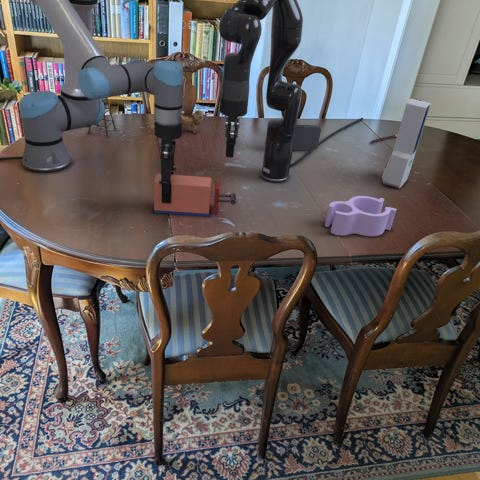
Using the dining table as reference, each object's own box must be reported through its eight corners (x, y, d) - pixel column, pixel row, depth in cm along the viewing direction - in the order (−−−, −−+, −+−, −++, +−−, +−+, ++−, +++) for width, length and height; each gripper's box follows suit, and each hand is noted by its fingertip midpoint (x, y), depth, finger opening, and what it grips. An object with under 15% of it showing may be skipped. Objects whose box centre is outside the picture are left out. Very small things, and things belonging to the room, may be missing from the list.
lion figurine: (200, 128, 202) (201, 108, 197) (204, 133, 198) (205, 112, 193) (167, 129, 197) (167, 108, 192) (170, 134, 193) (170, 113, 188)
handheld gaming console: (315, 147, 196) (319, 124, 190) (317, 149, 194) (322, 126, 188) (264, 149, 189) (267, 125, 183) (266, 152, 187) (269, 127, 181)
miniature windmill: (107, 136, 184) (102, 57, 168) (87, 133, 185) (80, 54, 169) (116, 129, 192) (112, 52, 176) (97, 126, 193) (91, 49, 177)
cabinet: (209, 206, 145) (211, 177, 140) (208, 216, 140) (210, 186, 135) (156, 202, 144) (156, 173, 139) (153, 212, 139) (153, 182, 133)
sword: (407, 132, 223) (408, 129, 223) (413, 134, 221) (413, 131, 221) (364, 143, 208) (365, 141, 207) (370, 146, 206) (370, 143, 205)
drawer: (234, 206, 145) (236, 182, 140) (234, 214, 141) (237, 190, 136) (168, 201, 143) (168, 177, 139) (166, 209, 139) (167, 185, 135)
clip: (337, 240, 135) (342, 219, 131) (318, 218, 145) (322, 198, 141) (395, 233, 141) (402, 213, 137) (373, 213, 151) (378, 194, 147)
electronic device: (399, 190, 168) (424, 107, 152) (379, 183, 171) (402, 102, 155) (408, 178, 177) (433, 100, 161) (389, 173, 180) (411, 95, 164)
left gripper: (179, 135, 119) (177, 213, 132) (184, 111, 135) (182, 183, 148) (149, 133, 119) (150, 211, 131) (158, 109, 135) (158, 181, 147)
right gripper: (249, 104, 118) (243, 166, 128) (247, 89, 130) (241, 148, 139) (220, 101, 118) (215, 164, 127) (220, 87, 129) (216, 146, 138)
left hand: (167, 196), depth 140 cm, fingers closed on cabinet, 6 cm apart
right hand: (229, 156), depth 133 cm, fingers closed
